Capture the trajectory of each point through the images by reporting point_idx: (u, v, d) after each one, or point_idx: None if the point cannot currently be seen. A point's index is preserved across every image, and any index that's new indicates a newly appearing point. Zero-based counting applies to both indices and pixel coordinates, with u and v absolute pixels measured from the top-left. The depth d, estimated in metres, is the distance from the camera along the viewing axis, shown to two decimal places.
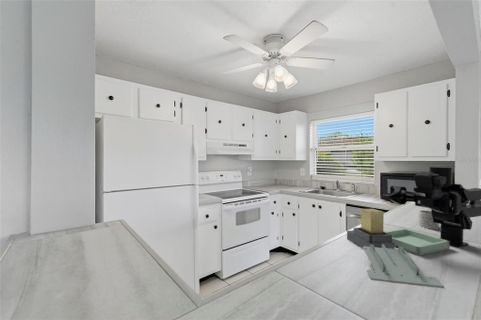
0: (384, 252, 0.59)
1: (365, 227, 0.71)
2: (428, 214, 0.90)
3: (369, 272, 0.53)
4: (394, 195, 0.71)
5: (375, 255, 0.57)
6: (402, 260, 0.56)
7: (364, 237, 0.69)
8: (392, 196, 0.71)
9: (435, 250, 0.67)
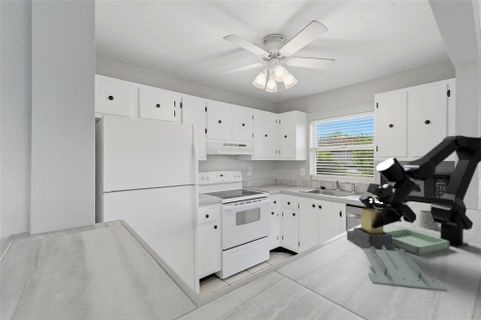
0: (385, 254, 0.58)
1: (365, 227, 0.71)
2: (428, 214, 0.90)
3: (370, 275, 0.51)
4: None
5: (376, 257, 0.55)
6: (403, 262, 0.55)
7: (364, 237, 0.69)
8: None
9: (435, 250, 0.67)
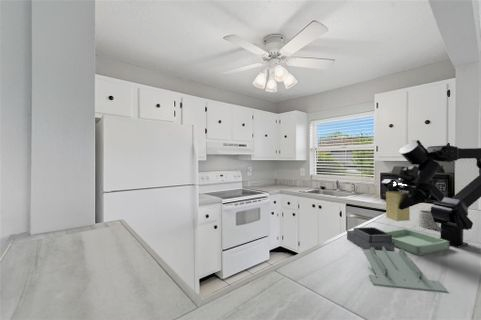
0: (385, 255, 0.57)
1: (391, 209, 0.72)
2: (428, 214, 0.90)
3: (371, 277, 0.50)
4: None
5: (376, 259, 0.55)
6: (403, 263, 0.54)
7: (364, 237, 0.69)
8: None
9: (435, 250, 0.67)
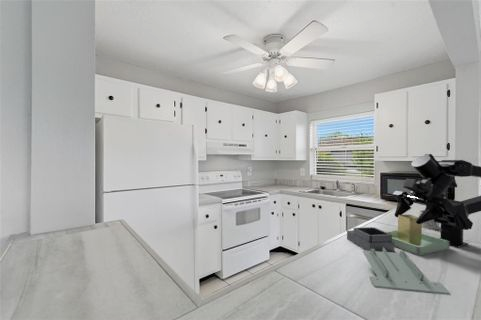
0: (385, 256, 0.57)
1: (403, 233, 0.73)
2: None
3: (372, 279, 0.50)
4: (399, 210, 0.77)
5: (377, 260, 0.54)
6: (404, 265, 0.54)
7: (364, 237, 0.69)
8: (398, 213, 0.77)
9: (435, 250, 0.67)
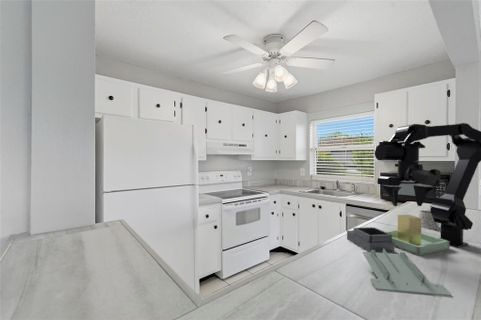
0: (385, 258, 0.56)
1: (403, 233, 0.73)
2: (428, 214, 0.90)
3: (373, 281, 0.49)
4: None
5: (377, 262, 0.53)
6: (405, 266, 0.53)
7: (364, 237, 0.69)
8: None
9: (435, 250, 0.67)
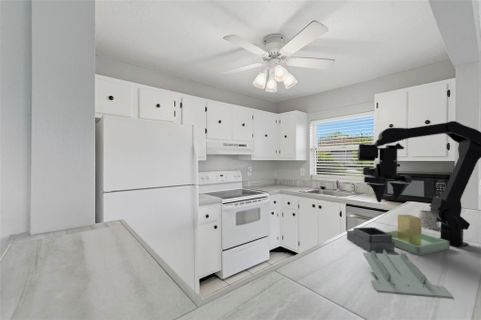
0: (386, 259, 0.55)
1: (403, 233, 0.73)
2: (428, 214, 0.90)
3: (374, 283, 0.48)
4: (394, 194, 0.84)
5: (378, 263, 0.52)
6: (406, 267, 0.52)
7: (364, 237, 0.69)
8: (394, 197, 0.84)
9: (435, 250, 0.67)
